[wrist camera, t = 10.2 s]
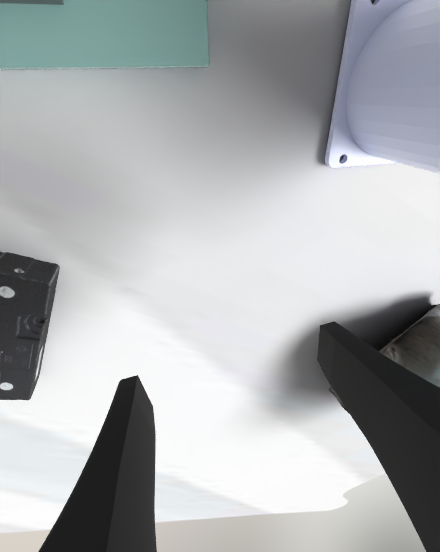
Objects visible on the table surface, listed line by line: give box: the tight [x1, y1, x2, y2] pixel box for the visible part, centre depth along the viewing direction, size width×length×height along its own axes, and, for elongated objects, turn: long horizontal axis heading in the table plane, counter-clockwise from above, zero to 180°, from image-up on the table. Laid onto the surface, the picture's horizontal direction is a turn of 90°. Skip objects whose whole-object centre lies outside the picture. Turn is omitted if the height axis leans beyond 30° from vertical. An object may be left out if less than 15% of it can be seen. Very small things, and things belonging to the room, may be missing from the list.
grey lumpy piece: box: [329, 304, 440, 414], centre depth 25 cm, size 15×12×14 cm
